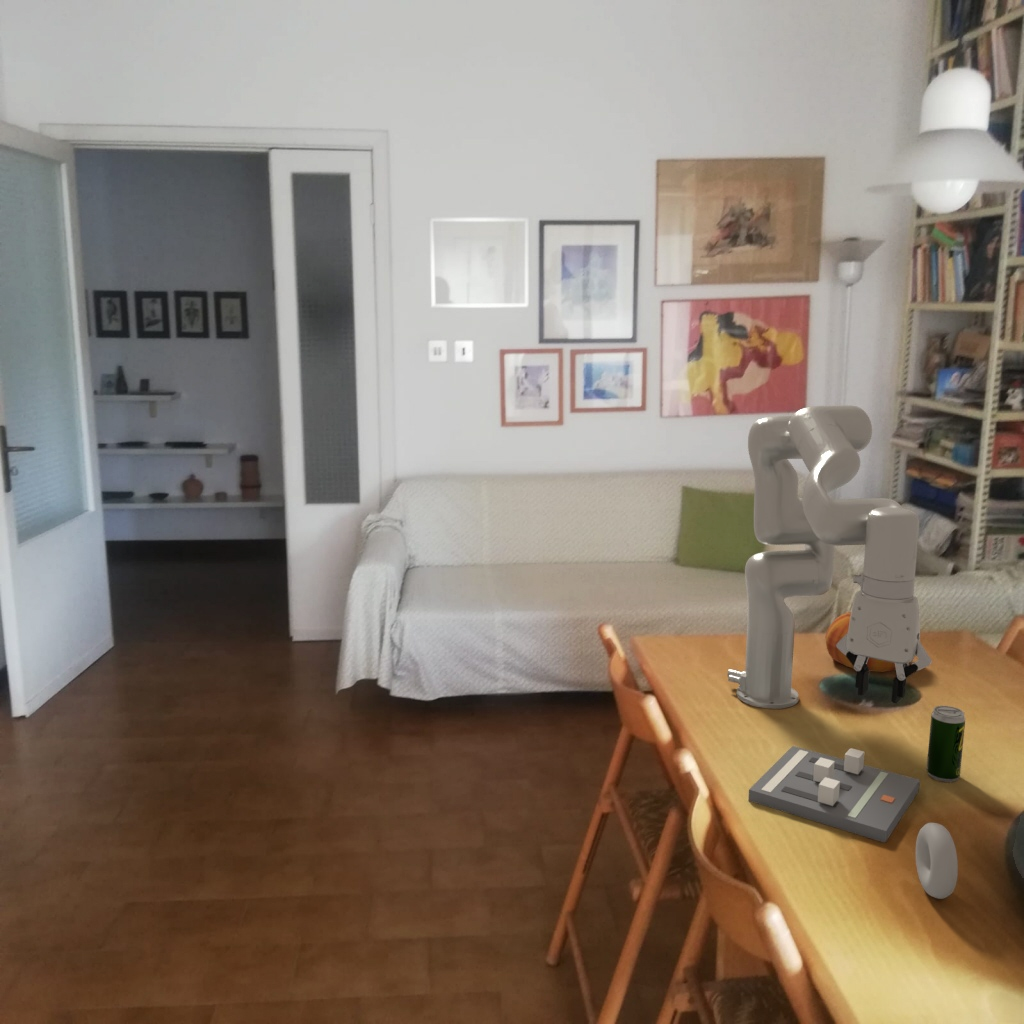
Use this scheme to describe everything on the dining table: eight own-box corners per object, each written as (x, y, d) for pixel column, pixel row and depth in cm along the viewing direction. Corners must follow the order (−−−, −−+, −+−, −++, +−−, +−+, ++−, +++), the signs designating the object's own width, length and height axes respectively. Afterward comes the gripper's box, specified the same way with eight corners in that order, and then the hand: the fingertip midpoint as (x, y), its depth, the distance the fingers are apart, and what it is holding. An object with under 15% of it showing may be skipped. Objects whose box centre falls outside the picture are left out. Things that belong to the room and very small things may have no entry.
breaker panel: (748, 800, 157) (749, 770, 156) (792, 755, 173) (793, 728, 172) (885, 842, 144) (887, 810, 143) (918, 790, 160) (921, 761, 159)
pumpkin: (820, 671, 214) (824, 608, 211) (827, 644, 231) (831, 585, 228) (913, 683, 206) (918, 618, 203) (912, 654, 224) (917, 593, 221)
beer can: (927, 780, 164) (933, 715, 161) (924, 766, 169) (930, 703, 166) (961, 785, 162) (968, 719, 159) (957, 770, 167) (963, 707, 164)
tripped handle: (813, 780, 159) (814, 763, 158) (819, 773, 161) (820, 757, 161) (827, 784, 158) (828, 767, 157) (833, 777, 160) (834, 761, 159)
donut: (958, 915, 127) (964, 848, 125) (931, 913, 127) (937, 846, 125) (934, 872, 137) (940, 809, 135) (909, 871, 137) (915, 808, 135)
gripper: (825, 583, 150) (818, 692, 153) (939, 602, 140) (929, 717, 143) (841, 573, 155) (834, 677, 159) (951, 590, 146) (941, 701, 149)
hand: (879, 695), depth 151 cm, fingers open, 4 cm apart
